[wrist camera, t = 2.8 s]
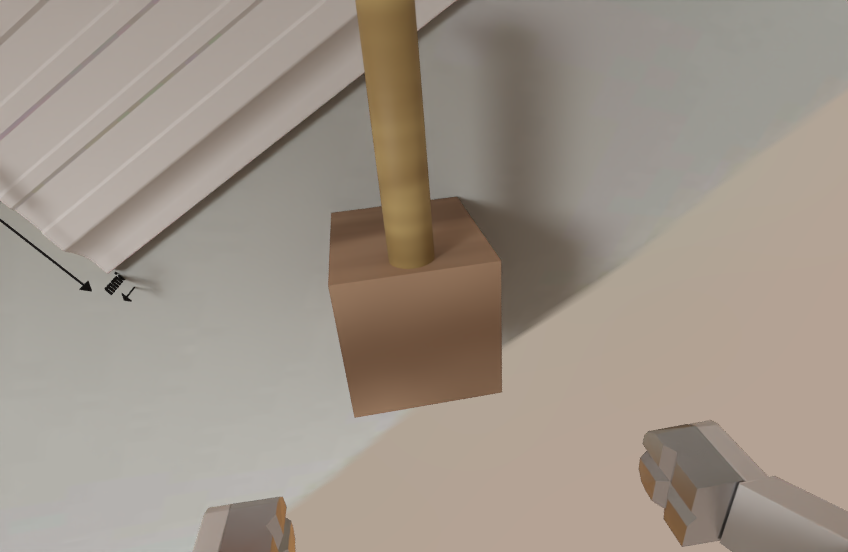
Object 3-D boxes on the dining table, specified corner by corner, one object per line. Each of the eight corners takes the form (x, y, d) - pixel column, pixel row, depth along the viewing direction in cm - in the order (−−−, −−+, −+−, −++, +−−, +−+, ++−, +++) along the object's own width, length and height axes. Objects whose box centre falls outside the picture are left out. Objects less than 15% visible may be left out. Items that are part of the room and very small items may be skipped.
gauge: (290, -11, 15) (265, -30, 10) (446, -24, 16) (499, -49, 10) (350, 319, 21) (354, 417, 16) (462, 302, 22) (501, 392, 16)
